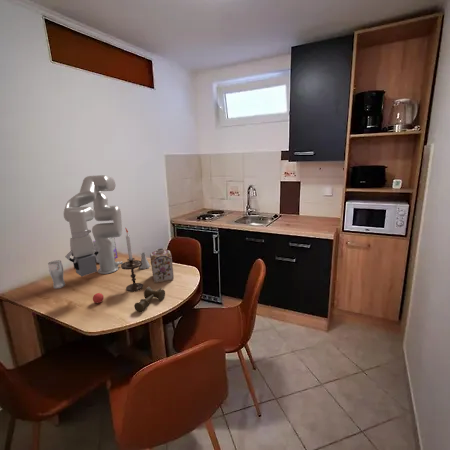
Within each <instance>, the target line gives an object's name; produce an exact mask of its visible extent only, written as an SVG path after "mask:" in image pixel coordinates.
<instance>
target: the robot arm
mask: <svg viewBox="0 0 450 450" xmlns="http://www.w3.org/2000/svg"><path fill="white" fill-rule="evenodd" d="M115 189H116V181H115V179H114V178H113V177H112V176H109V175H102V174H101V175H87V176H85V177H84V179H83V180H82V183H81V186H80V189H79V192H78V193H77V194H75V195H73V196H72V197H71V198H70V199H68V201H67V202H66V204H65V207H64V209H63V210H64V211H63V218H64V220H65V221H66V222H68V224H69V229H70V233H71V234H70V235H71V237H70V238H69V247H70V251H69V252H68V253H67V254H66V255H65V258H66V259H67V260H68V261H69V262H71V263H73V268H74V269H75V271H76V270H79V267H78V263H77V259H78V258H79V257H83V256H87V255H90V254H91V255H95V261H96V256H97V254H98V259H99V263H98V265H99V268H97V274H100V275H107V274H112V273H114V272H117V271H118V270H119V266H121V265H122V264H123V263H124V262H123V261H122V260H121V261H119V260H118V261H116V259H115V258H114V251H113V245H112V242H111V241H110V240H109V239H108V238H113V237H114V238H118V237H122V234H123V223H122V222H123V221H122V212H121V209H120V207H119V206H118V205H109V202H108V201H109V200H108V197H107V196H106V195H105V194H104V193H103V192H112V191H114V190H115ZM90 203H93V207H92V206H86V205H88V204H90ZM93 219H94V220H95V221H96V222H101V223H96V224H94V225H93V226H92V228H91V229H88V224H87V223H88V222H90V221H92V220H93ZM110 221H112V222H110ZM102 222H103V223H102ZM90 233H92V236H93V238H94V241H95V242H96V246H94V245H93V238H92V237H91V235H90ZM94 249H96V251H95V250H94ZM71 257H73V258H71Z"/></svg>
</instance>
